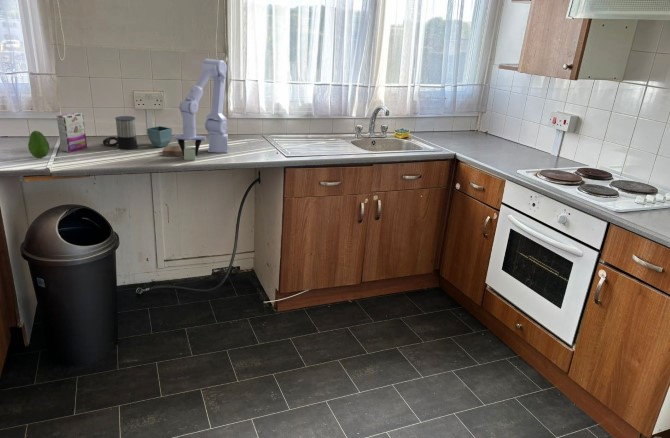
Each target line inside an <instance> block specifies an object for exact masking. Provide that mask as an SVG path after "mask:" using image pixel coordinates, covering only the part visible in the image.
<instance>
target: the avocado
mask: <svg viewBox="0 0 670 438" xmlns="http://www.w3.org/2000/svg"><path fill="white" fill-rule="evenodd" d="M27 146H28V151H29V152H30V153H29V154H31V155H32V156H33V157H34V158H37V159H41V158H45V157H46V156H47V155H48V154H49V152H50V144H49V142H48V139H47V138H46V136H45V135H44V134H43V132H41V131H39V130H33V131H31V133H30V135H29V140H28V144H27Z"/></svg>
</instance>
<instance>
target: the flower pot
mask: <svg viewBox="0 0 670 438" xmlns="http://www.w3.org/2000/svg"><path fill="white" fill-rule="evenodd" d="M146 131H147V135H148V139H149V142H150V143H151V144H152V146H153V147H157V148H165V146H169V144H171V143H170V142H171V140H172V137H173V136H172V134H173V129H172V128H171V127H167V126H161V125H159V126H153V127H147V128H146Z"/></svg>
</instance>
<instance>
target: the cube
mask: <svg viewBox="0 0 670 438" xmlns="http://www.w3.org/2000/svg"><path fill="white" fill-rule="evenodd" d="M195 153H196V147H195V146H187V147H185V148H184V157H183V159H184V161H196V159H197V156H196V155H195Z"/></svg>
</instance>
